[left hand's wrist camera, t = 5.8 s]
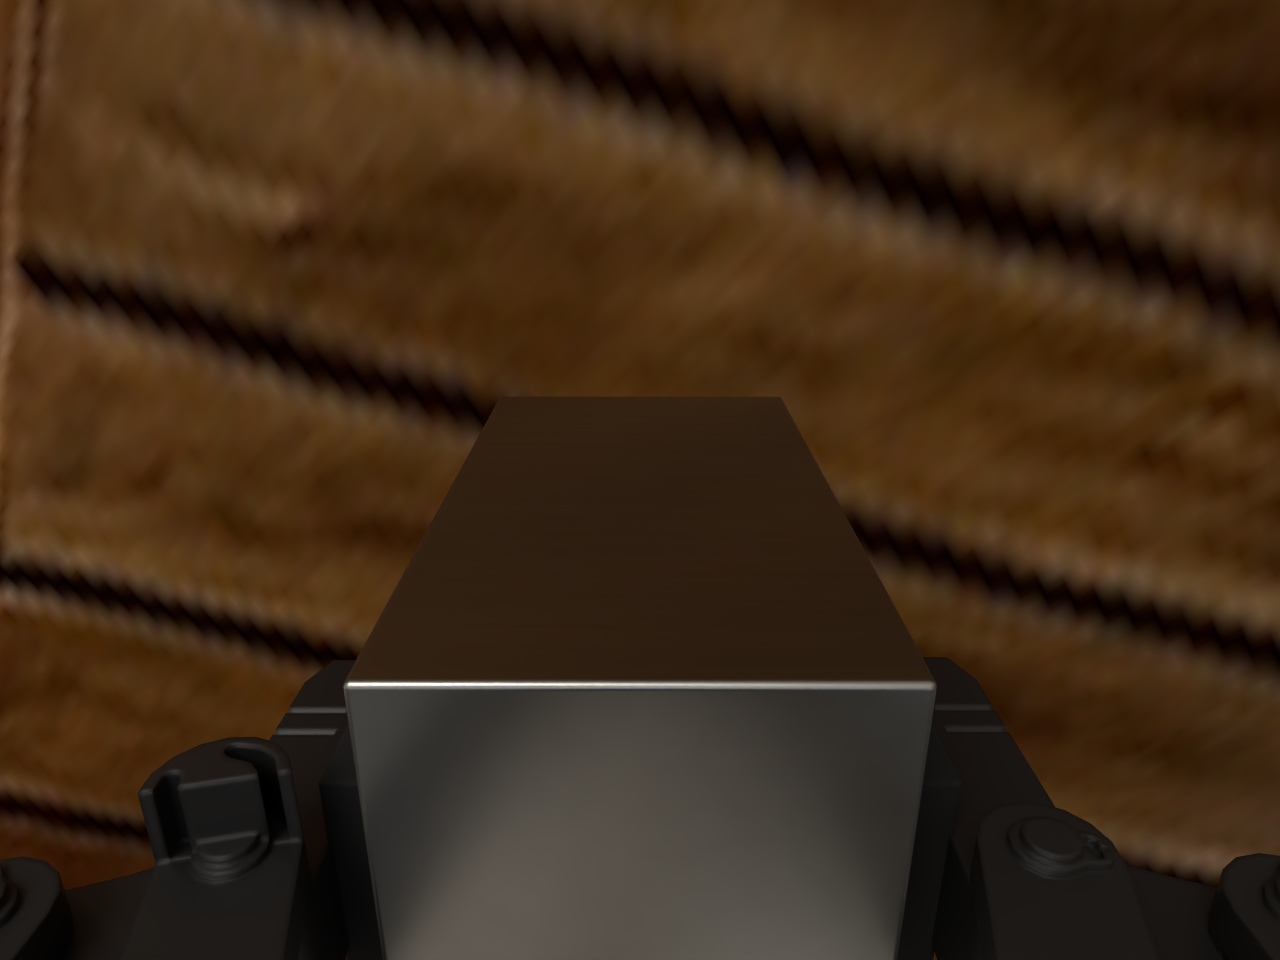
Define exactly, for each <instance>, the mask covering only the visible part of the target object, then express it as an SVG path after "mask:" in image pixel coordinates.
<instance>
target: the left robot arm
mask: <svg viewBox="0 0 1280 960" xmlns="http://www.w3.org/2000/svg"><path fill="white" fill-rule="evenodd" d="M923 659H924V661H925V663H926V665H927V667H928V669H929V670H930V672H931V674H932V676H933V678H934V680H935V682H936V685H937V689H936V696H935V703H934V710H933V717H932V724H931V731H930V737H929V744H928V751H927V758H926V765H925V772H924V779H923V785H922V792H921V799H920V806H919V813H918V820H917V827H916V833H915V840H914V847H913V854H912V861H911V868H910V875H909V881H908V888H907V895H906V902H905V909H904V916H903V923H902V929H901V936H900V943H899V950H898V957H897V960H933V957H934V951H935V954H936V957H937V960H1280V856H1276V855H1269V854H1261V853H1257V854H1252V855H1246V856H1241V857H1236V858H1235V859H1234V860H1232V861H1231V862H1230V863H1229V864H1228V865H1227V866H1226V867H1225V868H1224V869H1223V871H1222V874H1221V877H1220V880H1219V883H1218V886H1217V887H1213V886H1209V885H1204V884H1200V883H1196V882H1192V881H1188V880H1183V879H1179V878H1175V877H1171V876H1167V875H1162V874H1158V873H1154V872H1151V871H1147V870H1144V869H1141V868H1138V867H1135V866H1131V865H1128V864H1126V863H1125V862H1124V861H1123V859H1122V857H1121V856H1120V854H1119V853H1118V851H1117V849H1116V848H1115V846H1114V845H1113V843H1112V842H1111V841H1110V840H1109V839H1108V838H1107V837H1106V836H1104V835H1103V834H1102V833H1101V832H1100V831H1099V830H1097V829H1096V828H1095V827H1094V826H1093V825H1092V824H1090V823H1088V822H1086V821H1084V820H1082V819H1081V818H1079V817H1077V816H1075V815H1073V814H1071V813H1069V812H1067V811H1065V810H1062V809H1058V808H1055V806H1054V804H1053V803H1052V801H1051V800H1050V798H1049V796H1048V795H1047V793H1046V791H1045V790H1044V788H1043V787H1042V785H1041V783H1040V782H1039V780H1038V779H1037V777H1036V775H1035V774H1034V772H1033V771H1032V769H1031V767H1030V766H1029V764H1028V762H1027V761H1026V759H1025V758H1024V756H1023V754H1022V753H1021V751H1020V750H1019V748H1018V746H1017V745H1016V743H1015V742H1014V740H1013V738H1012V737H1011V735H1010V734H1009V732H1006V731H1005V725H1004V724H1003V722H1002V721H1001V719H1000V717H999V716H998V714H997V713H996V711H993V710H992V705H991V703H990V701H989V700H988V698H987V696H986V695H985V693H984V692H983V690H982V688H981V687H980V685H979V684H978V682H977V680H976V679H975V678H973V677H972V676H971V675H969V674H968V673H967V672H965V671H964V670H963V669H961V668H960V667H959V666H957V665H956V664H955V663H953V662H952V661H951V660H950V659H948V658H923ZM355 661H356V660H334V661H332V662H331V663H330V664H328V665H327V666H326V667H325V668H323V669H322V670H321V671H319V672H318V673H317V674H315V675H314V676H313V677H311V678H310V679H309V680H308V681H306V682H305V683H304V685H303V687H302V688H301V690H300V691H299V693H298V695H297V696H296V698H295V699H294V701H293V703H292V704H291V706H290V708H289V713H286V714H285V716H284V717H283V719H282V721H281V722H280V724H279V725H278V727H277V729H276V734H275V735H272V737H271V738H270V740H269V741H268V740H265V739H261V738H258V737H233V738H226V739H222V740H217V741H213V742H209V743H205V744H201V745H199V746H197V747H194V748H192V749H190V750H188V751H186V752H184V753H181V754H179V755H177V756H175V757H173V758H172V759H170V760H169V761H168V762H167V763H165V764H164V765H163V766H161V767H160V768H159V769H157V770H156V771H155V772H153V773H152V774H151V775H150V777H149V778H148V779H147V781H146V782H145V783H144V785H143V786H142V788H141V789H140V790H139V792H138V797H139V801H140V804H141V808H142V812H143V816H144V820H145V824H146V827H147V831H148V835H149V839H150V843H151V847H152V851H153V854H154V858H155V862H156V864H155V867H154V868H151V869H148V870H145V871H142V872H138V873H135V874H132V875H129V876H125V877H120V878H116V879H112V880H108V881H104V882H99V883H95V884H91V885H87V886H83V887H78V888H74V889H70V890H66V891H65V890H64V887H63V884H62V881H61V878H60V874H59V872H58V871H57V870H55V869H54V868H53V867H52V866H51V865H50V864H49V863H48V862H47V861H44V860H39V859H33V858H28V857H17V858H9V859H2V860H0V960H345V957H346V955H347V959H348V960H383V956H382V949H381V942H380V935H379V928H378V921H377V914H376V908H375V901H374V894H373V887H372V880H371V873H370V866H369V859H368V853H367V846H366V839H365V832H364V825H363V818H362V811H361V804H360V798H359V791H358V784H357V777H356V770H355V763H354V756H353V749H352V743H351V736H350V729H349V722H348V715H347V708H346V701H345V694H344V688H343V685H344V682H345V680H346V678H347V676H348V674H349V672H350V670H351V669H352V667H353V665H354V663H355Z"/></svg>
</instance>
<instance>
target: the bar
mask: <svg viewBox="0 0 1280 960" xmlns="http://www.w3.org/2000/svg"><path fill="white" fill-rule="evenodd" d="M343 688H344V694H345V701H346V708H347V715H348V722H349V729H350V736H351V743H352V749H353V756H354V763H355V770H356V777H357V784H358V791H359V798H360V804H361V811H362V818H363V825H364V832H365V839H366V846H367V853H368V859H369V866H370V873H371V880H372V887H373V894H374V901H375V908H376V914H377V921H378V928H379V935H380V942H381V949H382V956H383V960H897V957H898V950H899V943H900V936H901V929H902V923H903V916H904V909H905V902H906V895H907V888H908V881H909V875H910V868H911V861H912V854H913V847H914V840H915V833H916V827H917V820H918V813H919V806H920V799H921V792H922V785H923V779H924V772H925V765H926V758H927V751H928V744H929V737H930V731H931V724H932V717H933V710H934V703H935V696H936V689H937V685H936V682H935V680H934V678H933V676H932V674H931V672H930V670H929V669H928V667H927V665H926V663H925V661H924V659H923V658H922V656H921V654H920V652H919V650H918V648H917V647H916V645H915V643H914V641H913V639H912V637H911V636H910V634H909V632H908V630H907V628H906V626H905V624H904V623H903V621H902V619H901V617H900V615H899V613H898V612H897V610H896V608H895V606H894V604H893V602H892V601H891V599H890V597H889V595H888V593H887V591H886V590H885V588H884V586H883V584H882V582H881V580H880V579H879V577H878V575H877V573H876V571H875V569H874V568H873V566H872V564H871V562H870V560H869V558H868V556H867V555H866V553H865V551H864V549H863V547H862V545H861V544H860V542H859V540H858V538H857V536H856V534H855V533H854V531H853V529H852V527H851V525H850V523H849V522H848V520H847V518H846V516H845V514H844V512H843V511H842V509H841V507H840V505H839V503H838V501H837V499H836V498H835V496H834V494H833V492H832V490H831V488H830V487H829V485H828V483H827V481H826V479H825V477H824V476H823V474H822V472H821V470H820V468H819V466H818V465H817V463H816V461H815V459H814V457H813V455H812V454H811V452H810V450H809V448H808V446H807V444H806V443H805V441H804V439H803V437H802V435H801V433H800V431H799V430H798V428H797V426H796V424H795V422H794V420H793V419H792V417H791V415H790V413H789V411H788V409H787V408H786V406H785V404H784V402H783V400H782V398H780V397H501V398H500V399H499V400H498V402H497V404H496V406H495V408H494V409H493V411H492V413H491V415H490V417H489V419H488V420H487V422H486V424H485V426H484V428H483V430H482V431H481V433H480V435H479V437H478V439H477V441H476V442H475V444H474V446H473V448H472V450H471V451H470V453H469V455H468V457H467V459H466V461H465V462H464V464H463V466H462V468H461V470H460V472H459V473H458V475H457V477H456V479H455V481H454V482H453V484H452V486H451V488H450V490H449V492H448V493H447V495H446V497H445V499H444V501H443V503H442V504H441V506H440V508H439V510H438V512H437V514H436V515H435V517H434V519H433V521H432V523H431V524H430V526H429V528H428V530H427V532H426V534H425V535H424V537H423V539H422V541H421V543H420V545H419V546H418V548H417V550H416V552H415V554H414V556H413V557H412V559H411V561H410V563H409V565H408V566H407V568H406V570H405V572H404V574H403V576H402V577H401V579H400V581H399V583H398V585H397V587H396V588H395V590H394V592H393V594H392V596H391V597H390V599H389V601H388V603H387V605H386V607H385V608H384V610H383V612H382V614H381V616H380V618H379V619H378V621H377V623H376V625H375V627H374V629H373V630H372V632H371V634H370V636H369V638H368V639H367V641H366V643H365V645H364V647H363V649H362V650H361V652H360V654H359V656H358V658H357V660H356V661H355V663H354V665H353V667H352V669H351V670H350V672H349V674H348V676H347V678H346V680H345V682H344V685H343Z"/></svg>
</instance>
